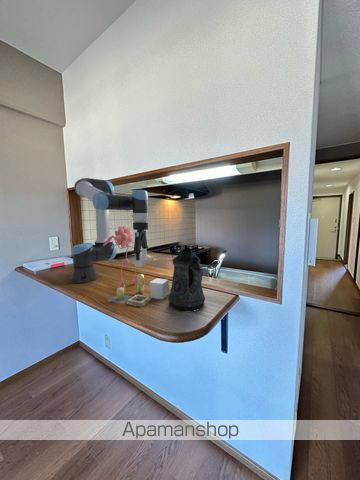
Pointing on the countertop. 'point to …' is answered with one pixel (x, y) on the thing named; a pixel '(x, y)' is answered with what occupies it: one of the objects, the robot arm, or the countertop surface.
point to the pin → (140, 283)
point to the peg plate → (120, 296)
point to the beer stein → (186, 283)
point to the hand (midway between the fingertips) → (141, 263)
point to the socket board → (139, 303)
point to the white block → (159, 288)
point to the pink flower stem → (123, 246)
